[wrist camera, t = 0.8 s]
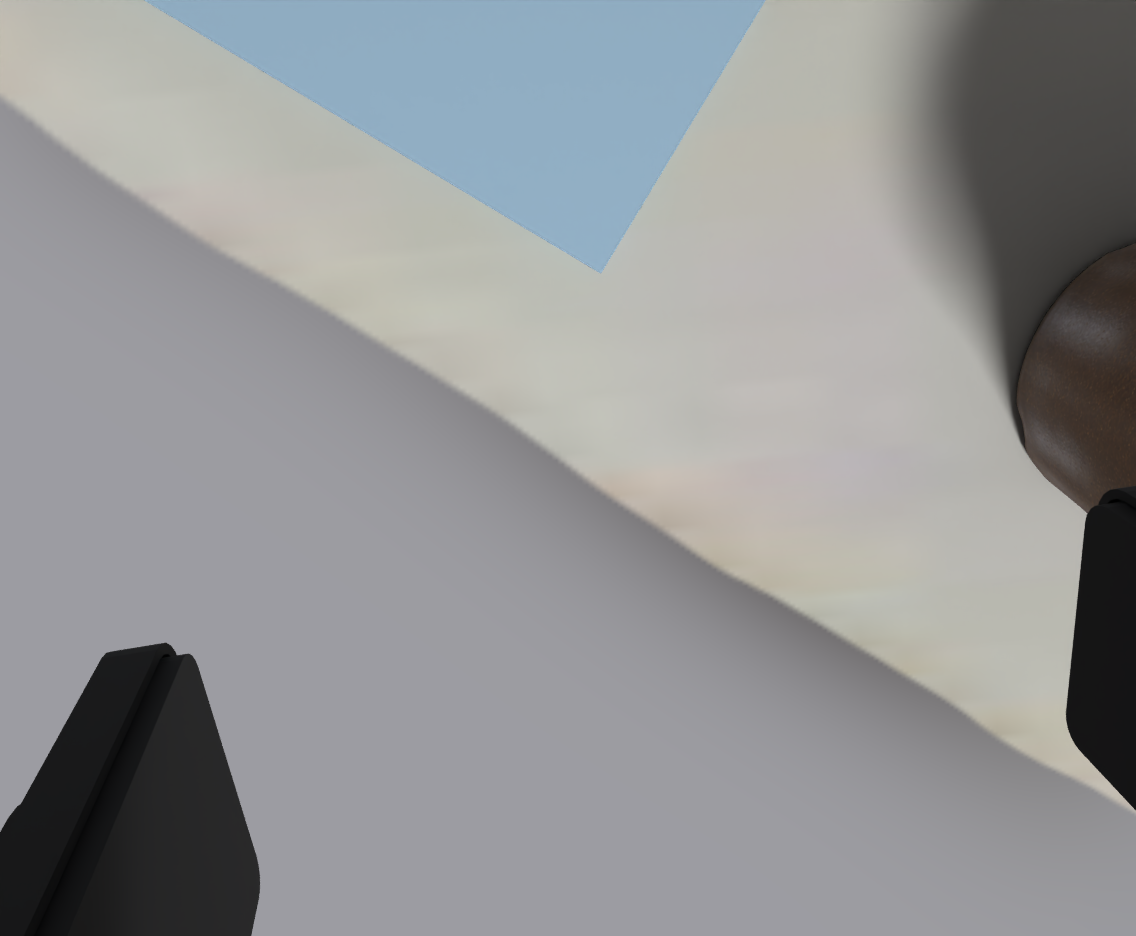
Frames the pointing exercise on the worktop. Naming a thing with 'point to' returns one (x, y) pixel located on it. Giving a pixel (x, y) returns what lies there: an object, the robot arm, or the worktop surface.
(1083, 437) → the plant pot
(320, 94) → the mat
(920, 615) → the worktop surface
